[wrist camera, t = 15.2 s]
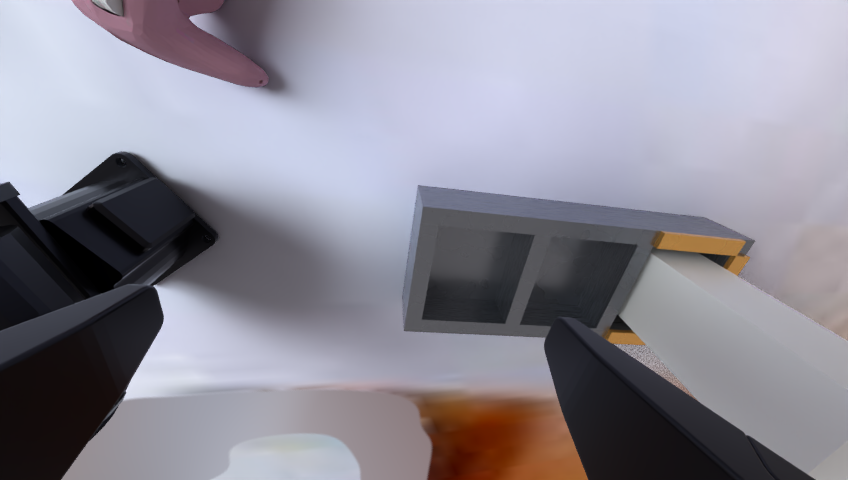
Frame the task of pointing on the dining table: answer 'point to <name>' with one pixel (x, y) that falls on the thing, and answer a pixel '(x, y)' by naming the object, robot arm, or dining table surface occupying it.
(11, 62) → the dining table surface
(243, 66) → the video game controller
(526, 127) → the dining table surface
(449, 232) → the rack
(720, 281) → the light grey block
